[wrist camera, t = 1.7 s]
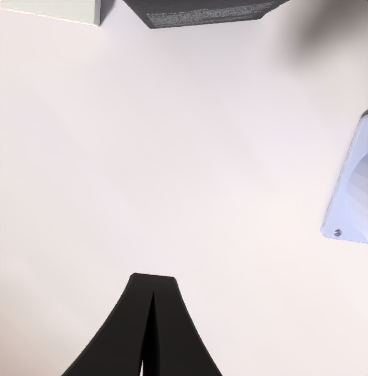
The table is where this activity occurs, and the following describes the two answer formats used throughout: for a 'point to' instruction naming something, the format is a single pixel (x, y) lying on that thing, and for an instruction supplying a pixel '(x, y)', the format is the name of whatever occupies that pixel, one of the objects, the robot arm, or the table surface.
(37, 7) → the mat
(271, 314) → the table surface
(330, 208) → the robot arm
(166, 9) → the small box
